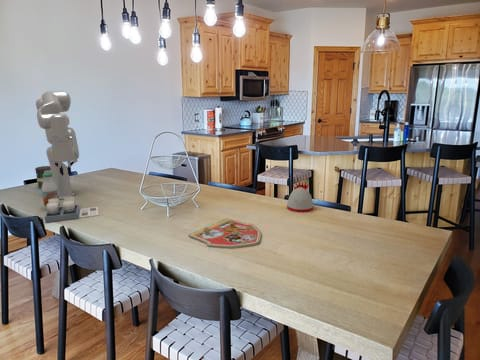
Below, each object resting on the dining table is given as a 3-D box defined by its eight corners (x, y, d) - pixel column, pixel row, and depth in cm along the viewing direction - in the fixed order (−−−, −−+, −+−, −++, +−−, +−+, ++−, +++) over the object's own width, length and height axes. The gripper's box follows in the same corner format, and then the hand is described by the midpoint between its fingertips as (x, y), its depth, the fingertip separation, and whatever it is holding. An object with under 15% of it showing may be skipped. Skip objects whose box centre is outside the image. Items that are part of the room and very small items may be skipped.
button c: (48, 212, 181) (47, 202, 179) (59, 210, 182) (58, 201, 181) (47, 215, 176) (46, 205, 175) (58, 213, 178) (57, 204, 177)
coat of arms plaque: (228, 220, 177) (228, 211, 176) (278, 234, 159) (278, 225, 158) (184, 239, 155) (184, 229, 154) (236, 258, 137) (236, 247, 136)
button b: (65, 206, 190) (64, 197, 189) (75, 204, 192) (74, 195, 191) (65, 208, 186) (63, 199, 184) (75, 207, 187) (74, 198, 186)
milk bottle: (41, 209, 196) (35, 174, 191) (54, 205, 202) (49, 171, 198) (50, 211, 192) (45, 175, 187) (63, 207, 199) (58, 172, 194)
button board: (48, 213, 189) (47, 208, 188) (79, 209, 194) (78, 204, 194) (45, 223, 175) (44, 217, 175) (78, 218, 181) (77, 213, 180)
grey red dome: (312, 213, 184) (314, 185, 180) (286, 211, 187) (286, 184, 183) (313, 204, 197) (314, 178, 193) (288, 203, 200) (288, 177, 196)
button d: (64, 210, 183) (63, 200, 182) (75, 208, 185) (74, 199, 184) (64, 213, 179) (62, 203, 178) (74, 211, 181) (73, 202, 179)
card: (80, 210, 194) (80, 208, 194) (97, 207, 197) (97, 206, 197) (79, 218, 181) (79, 216, 181) (98, 215, 185) (98, 214, 184)
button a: (50, 207, 187) (48, 198, 186) (60, 206, 189) (59, 197, 188) (49, 210, 183) (47, 201, 182) (59, 209, 185) (58, 200, 183)
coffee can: (37, 190, 234) (34, 169, 230) (38, 187, 243) (35, 166, 239) (55, 188, 238) (52, 168, 234) (55, 185, 247) (52, 165, 244)
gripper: (78, 137, 186) (83, 171, 191) (44, 139, 180) (49, 174, 185) (78, 139, 179) (82, 174, 184) (42, 141, 174) (47, 178, 178)
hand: (66, 174), depth 184 cm, fingers open, 2 cm apart
